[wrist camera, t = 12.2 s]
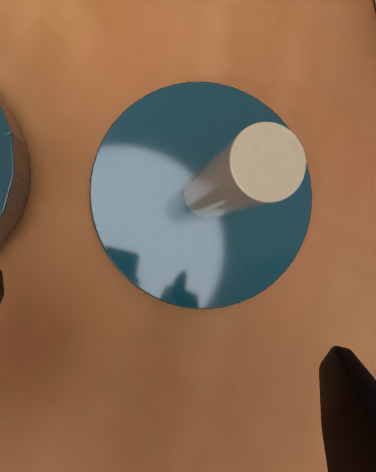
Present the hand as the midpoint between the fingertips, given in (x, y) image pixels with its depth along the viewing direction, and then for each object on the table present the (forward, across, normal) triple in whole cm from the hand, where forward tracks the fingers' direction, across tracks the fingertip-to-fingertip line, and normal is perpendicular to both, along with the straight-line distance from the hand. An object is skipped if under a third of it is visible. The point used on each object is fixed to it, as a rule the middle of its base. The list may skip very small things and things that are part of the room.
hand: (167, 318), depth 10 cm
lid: (+13, -1, +3) cm, 13 cm away
